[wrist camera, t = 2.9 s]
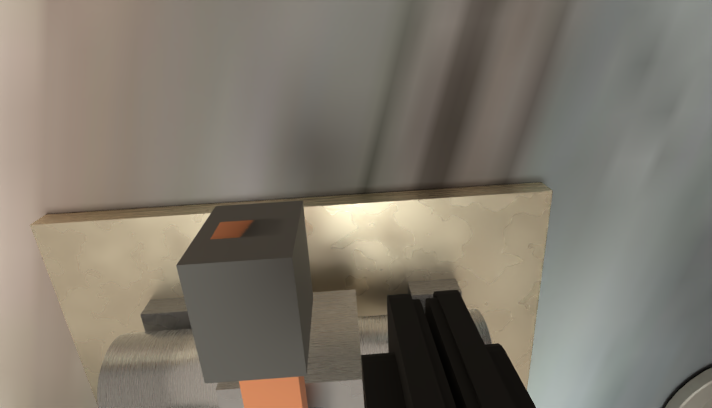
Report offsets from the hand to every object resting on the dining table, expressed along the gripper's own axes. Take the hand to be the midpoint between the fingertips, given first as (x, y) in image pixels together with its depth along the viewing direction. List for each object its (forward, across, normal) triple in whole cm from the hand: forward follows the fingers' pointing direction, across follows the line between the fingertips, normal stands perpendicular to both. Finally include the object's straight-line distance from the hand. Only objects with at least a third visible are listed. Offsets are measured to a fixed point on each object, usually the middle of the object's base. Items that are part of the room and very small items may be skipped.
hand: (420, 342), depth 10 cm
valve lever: (+6, +4, +5) cm, 9 cm away
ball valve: (+16, +4, +11) cm, 20 cm away
